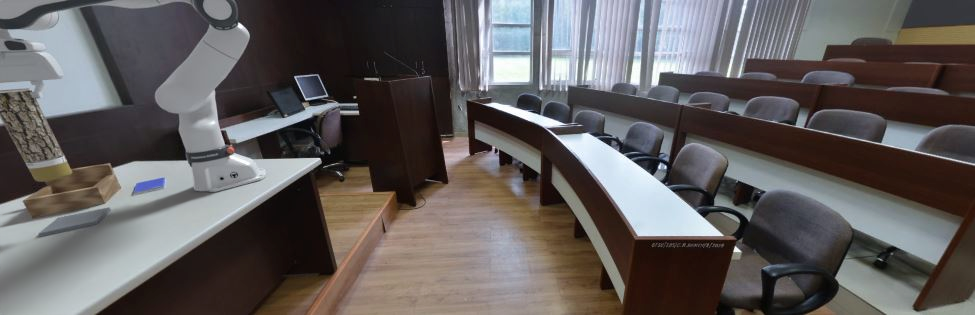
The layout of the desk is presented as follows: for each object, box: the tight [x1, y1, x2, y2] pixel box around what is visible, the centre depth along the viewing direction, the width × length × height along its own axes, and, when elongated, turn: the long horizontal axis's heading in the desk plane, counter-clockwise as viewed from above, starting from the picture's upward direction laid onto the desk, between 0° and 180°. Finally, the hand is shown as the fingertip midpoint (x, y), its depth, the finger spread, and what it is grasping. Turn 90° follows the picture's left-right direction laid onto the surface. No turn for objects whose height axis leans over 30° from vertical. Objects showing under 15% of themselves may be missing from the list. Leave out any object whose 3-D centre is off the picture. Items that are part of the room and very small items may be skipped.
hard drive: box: [132, 177, 167, 196], centre depth 122 cm, size 2×8×12 cm
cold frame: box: [22, 162, 122, 219], centre depth 110 cm, size 16×16×10 cm
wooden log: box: [0, 87, 72, 183], centre depth 89 cm, size 7×7×25 cm
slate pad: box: [38, 206, 111, 237], centre depth 98 cm, size 11×11×1 cm
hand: (14, 100), depth 86 cm, fingers closed on wooden log, 7 cm apart
